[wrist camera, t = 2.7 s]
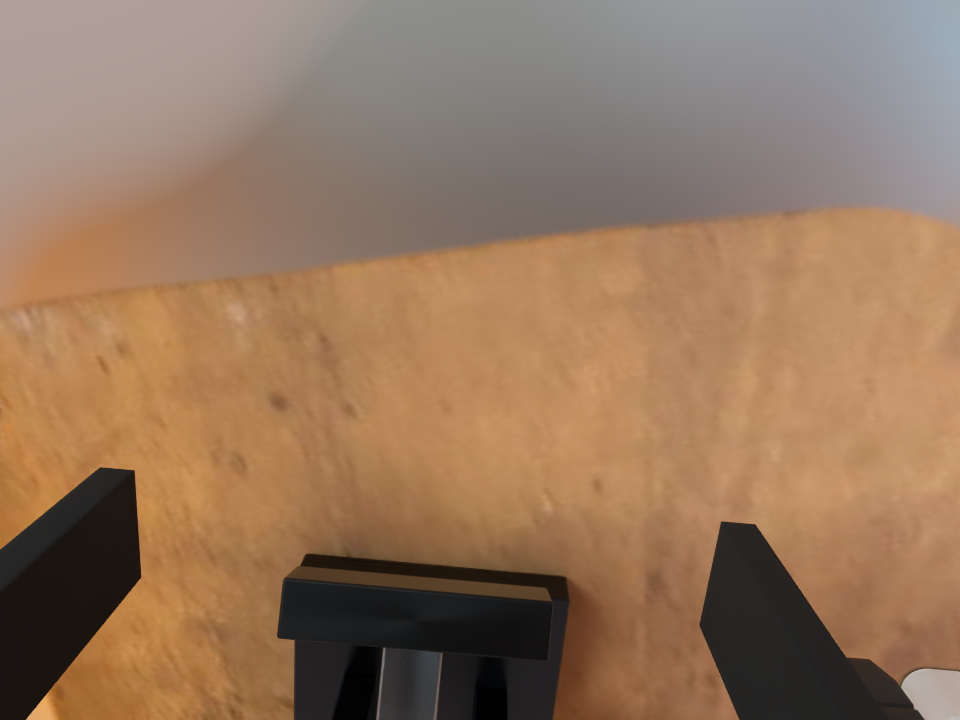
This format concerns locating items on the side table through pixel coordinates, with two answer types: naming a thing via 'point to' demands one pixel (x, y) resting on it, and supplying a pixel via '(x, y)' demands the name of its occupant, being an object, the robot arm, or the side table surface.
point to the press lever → (415, 626)
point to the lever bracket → (464, 678)
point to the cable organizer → (934, 693)
